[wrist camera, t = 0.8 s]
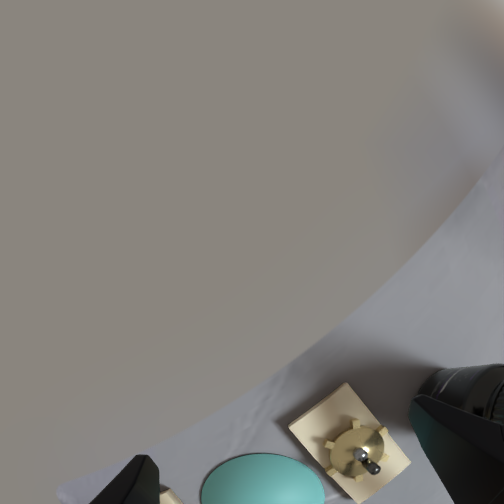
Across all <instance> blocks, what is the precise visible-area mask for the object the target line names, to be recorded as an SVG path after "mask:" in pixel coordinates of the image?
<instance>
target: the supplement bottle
mask: <svg viewBox="0 0 504 504" xmlns="http://www.w3.org/2000/svg"><path fill="white" fill-rule="evenodd" d="M420 394H423V395H426V396H428V397H431V398H433V399H436V400H438V401H440V402H443V403H445V404H448V405H450V406H453V407H455V408H458V409H460V410H463V411H466V412H468V413H471V414H473V415H476V416H479V417H482V418H484V419H487V420H490V421H493V422H495V423H498V424H500V425H504V364H489V365H480V366H471V367H461V368H450V369H443V370H440V371H438V372H436V373H434V374H433V375H432V376H430V377H429V378H428V379H427V380H426V381H425V383H424V384H423V385H422V387H421V389H420V391H419V393H418V395H420ZM418 395H417V396H418Z"/></svg>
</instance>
